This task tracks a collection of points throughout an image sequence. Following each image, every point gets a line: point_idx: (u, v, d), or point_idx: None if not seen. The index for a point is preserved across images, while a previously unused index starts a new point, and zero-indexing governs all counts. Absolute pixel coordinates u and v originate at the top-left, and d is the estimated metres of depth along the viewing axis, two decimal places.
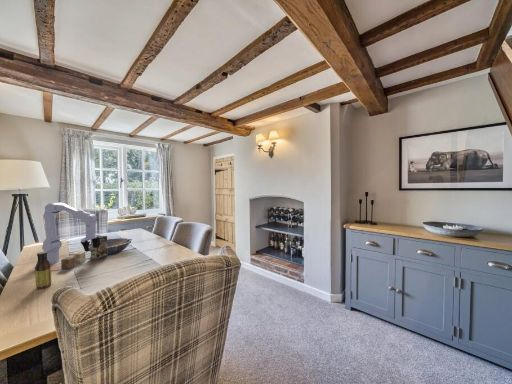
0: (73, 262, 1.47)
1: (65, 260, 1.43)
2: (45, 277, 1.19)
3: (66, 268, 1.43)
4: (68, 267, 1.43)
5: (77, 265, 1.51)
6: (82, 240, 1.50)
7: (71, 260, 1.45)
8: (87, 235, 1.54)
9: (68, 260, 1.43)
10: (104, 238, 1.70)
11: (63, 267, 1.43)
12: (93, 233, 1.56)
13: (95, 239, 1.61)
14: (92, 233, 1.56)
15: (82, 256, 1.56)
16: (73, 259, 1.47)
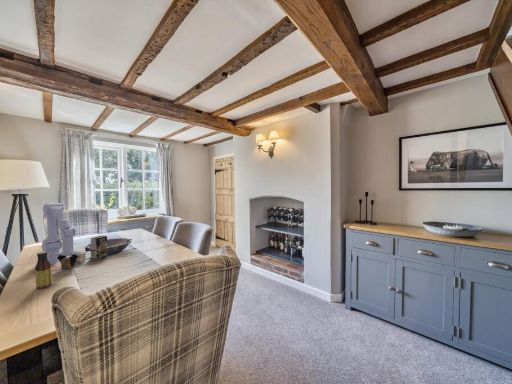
0: None
1: (65, 260, 1.43)
2: (45, 277, 1.19)
3: (66, 268, 1.43)
4: (68, 267, 1.43)
5: (77, 265, 1.51)
6: None
7: None
8: None
9: (68, 260, 1.43)
10: (104, 238, 1.70)
11: (63, 267, 1.43)
12: (63, 249, 1.42)
13: None
14: (63, 249, 1.42)
15: (82, 256, 1.56)
16: None
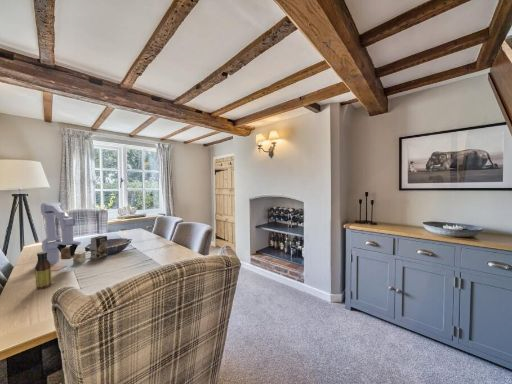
0: None
1: (65, 250, 1.42)
2: (45, 277, 1.19)
3: (66, 258, 1.43)
4: (68, 257, 1.43)
5: (77, 265, 1.51)
6: None
7: None
8: None
9: (68, 250, 1.43)
10: (104, 238, 1.70)
11: (63, 257, 1.42)
12: (63, 239, 1.42)
13: None
14: (62, 238, 1.42)
15: (82, 256, 1.56)
16: None
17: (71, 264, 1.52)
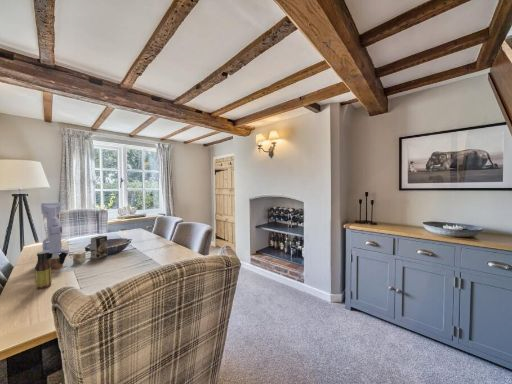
0: None
1: (52, 260, 1.42)
2: (45, 277, 1.19)
3: (54, 268, 1.42)
4: (56, 267, 1.42)
5: (77, 265, 1.51)
6: None
7: (59, 260, 1.44)
8: None
9: (55, 260, 1.42)
10: (104, 238, 1.70)
11: None
12: (51, 247, 1.41)
13: None
14: (50, 247, 1.41)
15: (82, 256, 1.56)
16: None
17: (71, 264, 1.52)
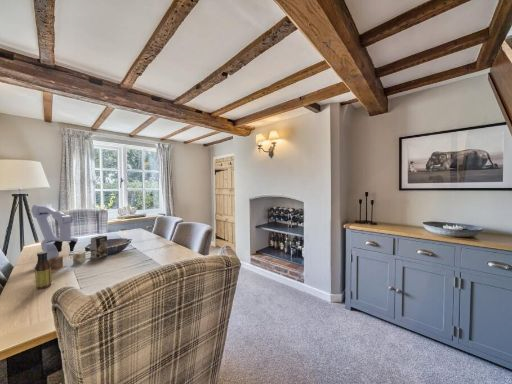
0: (61, 262, 1.46)
1: (52, 260, 1.42)
2: (45, 277, 1.19)
3: (54, 268, 1.42)
4: (56, 267, 1.42)
5: (77, 265, 1.51)
6: None
7: (59, 260, 1.44)
8: None
9: (55, 260, 1.42)
10: (104, 238, 1.70)
11: None
12: (61, 235, 1.48)
13: None
14: (60, 235, 1.49)
15: (82, 256, 1.56)
16: (61, 259, 1.46)
17: (71, 264, 1.52)
